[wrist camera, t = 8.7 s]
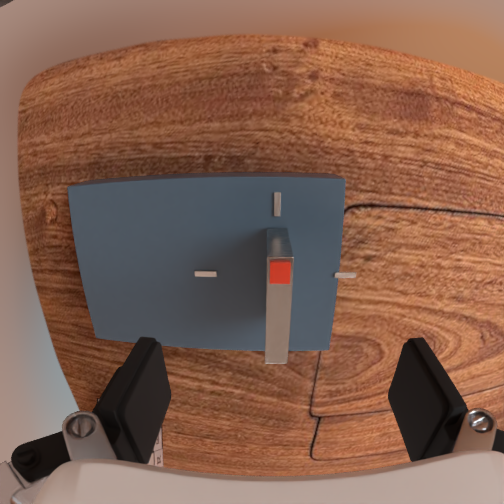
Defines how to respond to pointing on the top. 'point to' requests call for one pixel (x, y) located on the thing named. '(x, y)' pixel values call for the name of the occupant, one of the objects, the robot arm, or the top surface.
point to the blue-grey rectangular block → (207, 255)
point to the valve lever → (278, 295)
